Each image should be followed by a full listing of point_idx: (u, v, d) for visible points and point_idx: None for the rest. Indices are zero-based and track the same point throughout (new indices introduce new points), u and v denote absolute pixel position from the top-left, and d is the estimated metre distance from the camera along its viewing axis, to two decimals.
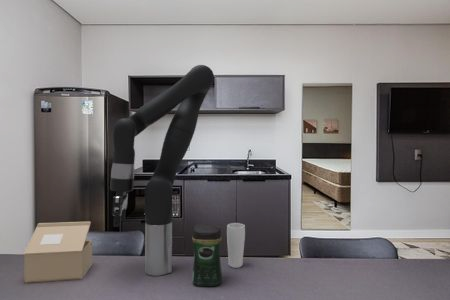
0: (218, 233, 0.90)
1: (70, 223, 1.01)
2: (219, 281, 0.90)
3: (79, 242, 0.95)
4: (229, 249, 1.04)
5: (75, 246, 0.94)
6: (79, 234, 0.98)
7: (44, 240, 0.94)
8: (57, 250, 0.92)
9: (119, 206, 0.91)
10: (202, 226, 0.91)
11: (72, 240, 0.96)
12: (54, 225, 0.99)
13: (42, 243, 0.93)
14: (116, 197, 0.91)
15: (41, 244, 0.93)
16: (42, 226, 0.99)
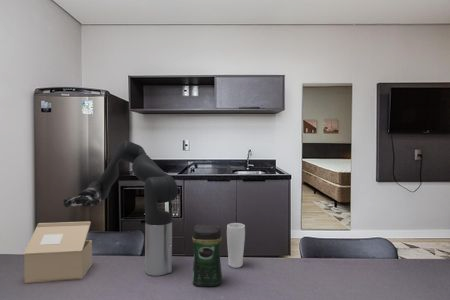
0: (218, 233, 0.90)
1: (70, 223, 1.01)
2: (219, 281, 0.90)
3: (79, 242, 0.95)
4: (229, 249, 1.04)
5: (75, 246, 0.94)
6: (79, 234, 0.98)
7: (44, 240, 0.94)
8: (57, 250, 0.92)
9: (65, 199, 1.20)
10: (202, 226, 0.91)
11: (72, 240, 0.96)
12: (54, 225, 0.99)
13: (42, 243, 0.93)
14: None
15: (41, 244, 0.93)
16: (42, 226, 0.99)
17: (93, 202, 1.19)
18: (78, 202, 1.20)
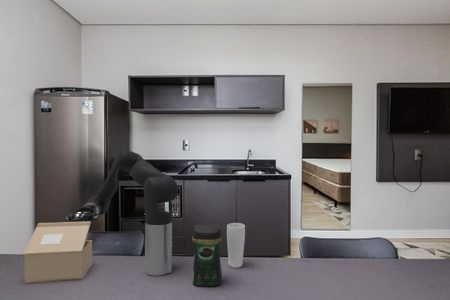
0: (218, 233, 0.90)
1: (70, 223, 1.01)
2: (219, 281, 0.90)
3: (79, 242, 0.95)
4: (229, 249, 1.04)
5: (75, 246, 0.94)
6: (79, 234, 0.98)
7: (44, 240, 0.94)
8: (57, 250, 0.92)
9: (68, 216, 1.17)
10: (202, 226, 0.91)
11: (72, 240, 0.96)
12: (54, 225, 0.99)
13: (42, 243, 0.93)
14: None
15: (41, 244, 0.93)
16: (42, 226, 0.99)
17: (83, 219, 1.15)
18: None
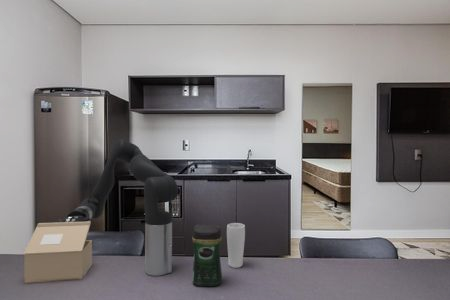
0: (218, 233, 0.90)
1: (70, 223, 1.01)
2: (219, 281, 0.90)
3: (79, 242, 0.95)
4: (229, 249, 1.04)
5: (75, 246, 0.94)
6: (79, 234, 0.98)
7: (44, 240, 0.94)
8: (57, 250, 0.92)
9: (58, 221, 1.06)
10: (202, 226, 0.91)
11: (72, 240, 0.96)
12: (54, 225, 0.99)
13: (42, 243, 0.93)
14: None
15: (41, 244, 0.93)
16: (42, 226, 0.99)
17: None
18: None
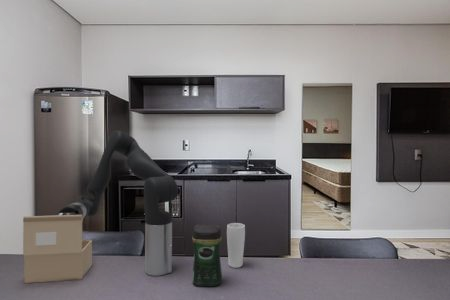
0: (218, 233, 0.90)
1: (60, 217, 0.91)
2: (219, 281, 0.90)
3: (76, 242, 0.92)
4: (229, 249, 1.04)
5: (73, 247, 0.92)
6: (74, 232, 0.92)
7: (38, 239, 0.90)
8: (56, 252, 0.91)
9: None
10: (202, 226, 0.91)
11: (68, 240, 0.92)
12: (42, 220, 0.90)
13: (38, 243, 0.90)
14: None
15: (37, 244, 0.90)
16: (29, 221, 0.90)
17: None
18: None
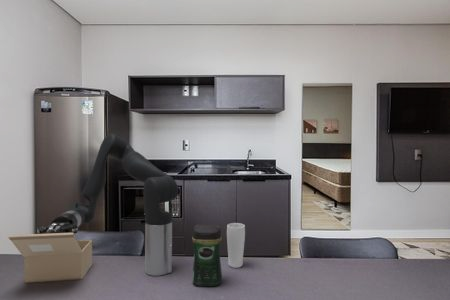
0: (218, 233, 0.90)
1: (49, 236, 0.84)
2: (219, 281, 0.90)
3: (73, 248, 0.90)
4: (229, 249, 1.04)
5: (72, 251, 0.91)
6: (69, 244, 0.88)
7: (34, 248, 0.87)
8: (56, 254, 0.91)
9: (39, 229, 0.92)
10: (202, 226, 0.91)
11: (65, 248, 0.89)
12: (31, 238, 0.83)
13: (34, 250, 0.88)
14: None
15: (34, 251, 0.88)
16: (17, 239, 0.83)
17: None
18: None
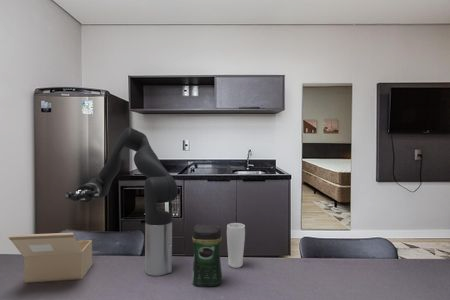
0: (218, 233, 0.90)
1: (49, 236, 0.84)
2: (219, 281, 0.90)
3: (73, 248, 0.90)
4: (229, 249, 1.04)
5: (72, 251, 0.91)
6: (69, 244, 0.88)
7: (34, 248, 0.87)
8: (56, 254, 0.91)
9: (68, 193, 1.12)
10: (202, 226, 0.91)
11: (65, 248, 0.89)
12: (31, 238, 0.83)
13: (34, 250, 0.88)
14: None
15: (34, 251, 0.88)
16: (17, 239, 0.83)
17: (83, 196, 1.11)
18: None
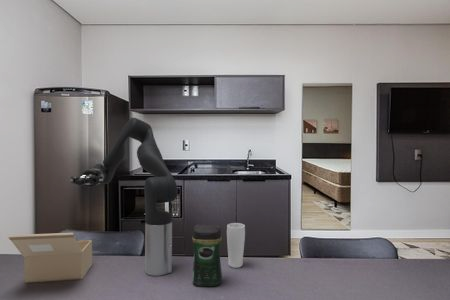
0: (218, 233, 0.90)
1: (49, 236, 0.84)
2: (219, 281, 0.90)
3: (73, 248, 0.90)
4: (229, 249, 1.04)
5: (72, 251, 0.91)
6: (69, 244, 0.88)
7: (34, 248, 0.87)
8: (56, 254, 0.91)
9: (73, 178, 1.13)
10: (202, 226, 0.91)
11: (65, 248, 0.89)
12: (31, 238, 0.83)
13: (34, 250, 0.88)
14: None
15: (34, 251, 0.88)
16: (17, 239, 0.83)
17: (88, 181, 1.12)
18: None
